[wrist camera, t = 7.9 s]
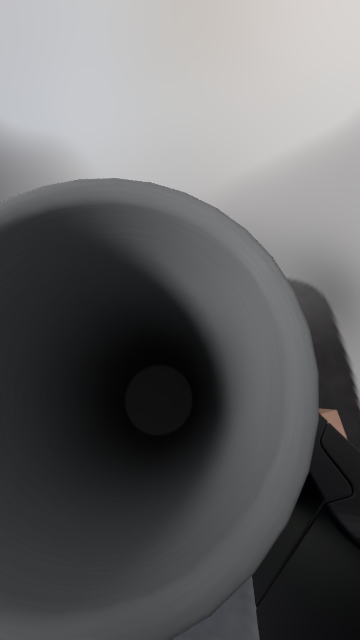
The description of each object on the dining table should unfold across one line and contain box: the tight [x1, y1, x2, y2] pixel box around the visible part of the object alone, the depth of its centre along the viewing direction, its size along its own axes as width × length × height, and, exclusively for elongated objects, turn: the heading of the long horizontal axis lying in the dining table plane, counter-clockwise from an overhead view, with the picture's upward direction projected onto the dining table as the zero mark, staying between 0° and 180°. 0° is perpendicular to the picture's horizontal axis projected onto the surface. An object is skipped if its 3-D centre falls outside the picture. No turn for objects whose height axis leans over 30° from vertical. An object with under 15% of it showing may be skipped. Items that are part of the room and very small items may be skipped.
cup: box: [0, 178, 319, 640], centre depth 11 cm, size 7×7×15 cm
